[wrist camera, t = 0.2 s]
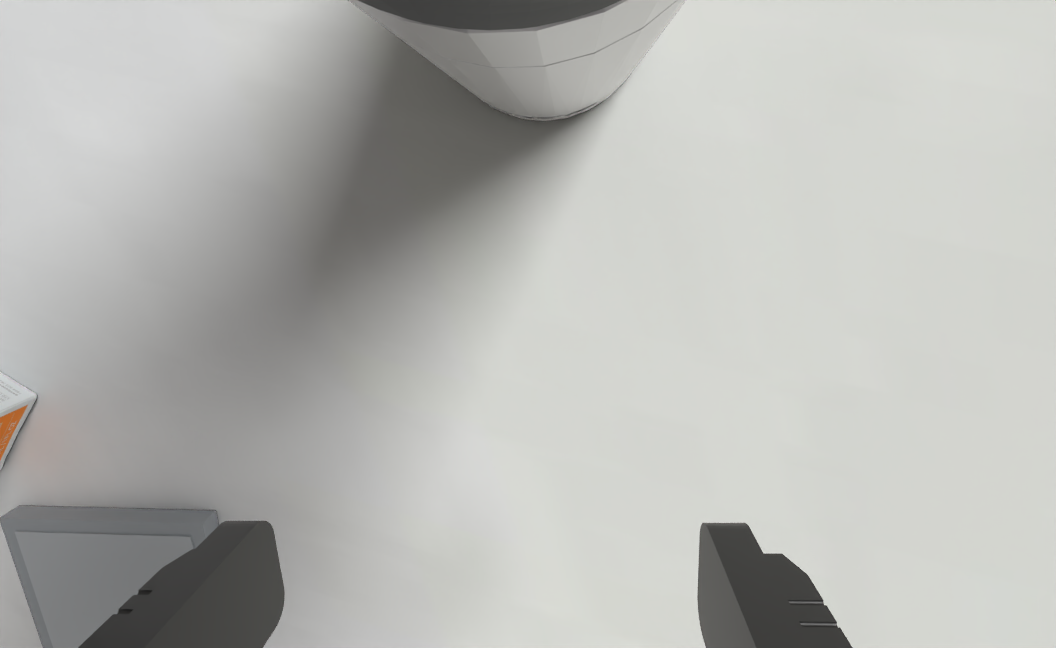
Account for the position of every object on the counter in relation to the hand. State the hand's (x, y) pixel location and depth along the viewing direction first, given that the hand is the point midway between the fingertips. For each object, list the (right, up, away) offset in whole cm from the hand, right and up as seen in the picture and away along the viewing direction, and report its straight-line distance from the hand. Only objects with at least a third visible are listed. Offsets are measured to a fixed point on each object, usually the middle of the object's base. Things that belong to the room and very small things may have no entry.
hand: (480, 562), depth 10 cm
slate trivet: (-23, -12, +23) cm, 35 cm away
